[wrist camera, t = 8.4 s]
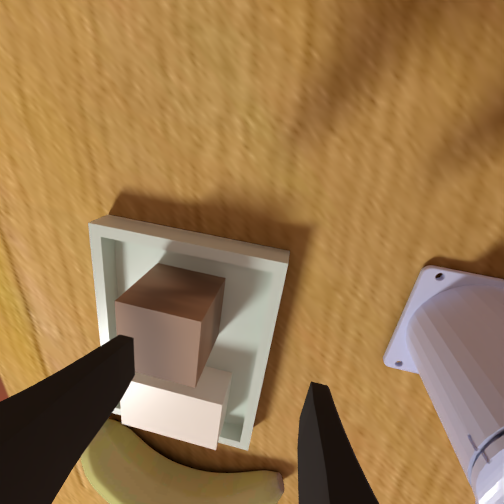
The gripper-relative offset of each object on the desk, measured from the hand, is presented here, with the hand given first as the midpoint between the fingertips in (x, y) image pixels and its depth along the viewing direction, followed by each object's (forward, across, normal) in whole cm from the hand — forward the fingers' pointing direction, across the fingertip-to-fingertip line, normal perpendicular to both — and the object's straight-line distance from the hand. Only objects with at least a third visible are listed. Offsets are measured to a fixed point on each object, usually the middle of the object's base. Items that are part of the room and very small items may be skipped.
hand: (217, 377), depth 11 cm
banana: (+10, +5, +21) cm, 24 cm away
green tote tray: (+9, +4, +7) cm, 13 cm away
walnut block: (+9, +4, +3) cm, 10 cm away
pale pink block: (+9, +4, +12) cm, 15 cm away
